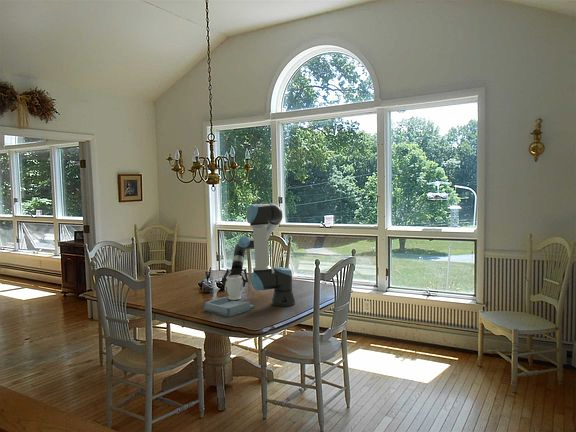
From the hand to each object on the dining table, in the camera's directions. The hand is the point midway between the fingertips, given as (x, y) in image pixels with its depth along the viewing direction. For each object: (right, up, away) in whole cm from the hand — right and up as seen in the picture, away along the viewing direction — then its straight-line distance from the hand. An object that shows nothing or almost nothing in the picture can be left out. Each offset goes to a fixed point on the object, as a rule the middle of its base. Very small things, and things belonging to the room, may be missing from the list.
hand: (233, 290), depth 292 cm
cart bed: (+1, -8, -21) cm, 22 cm away
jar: (0, -6, +3) cm, 7 cm away
